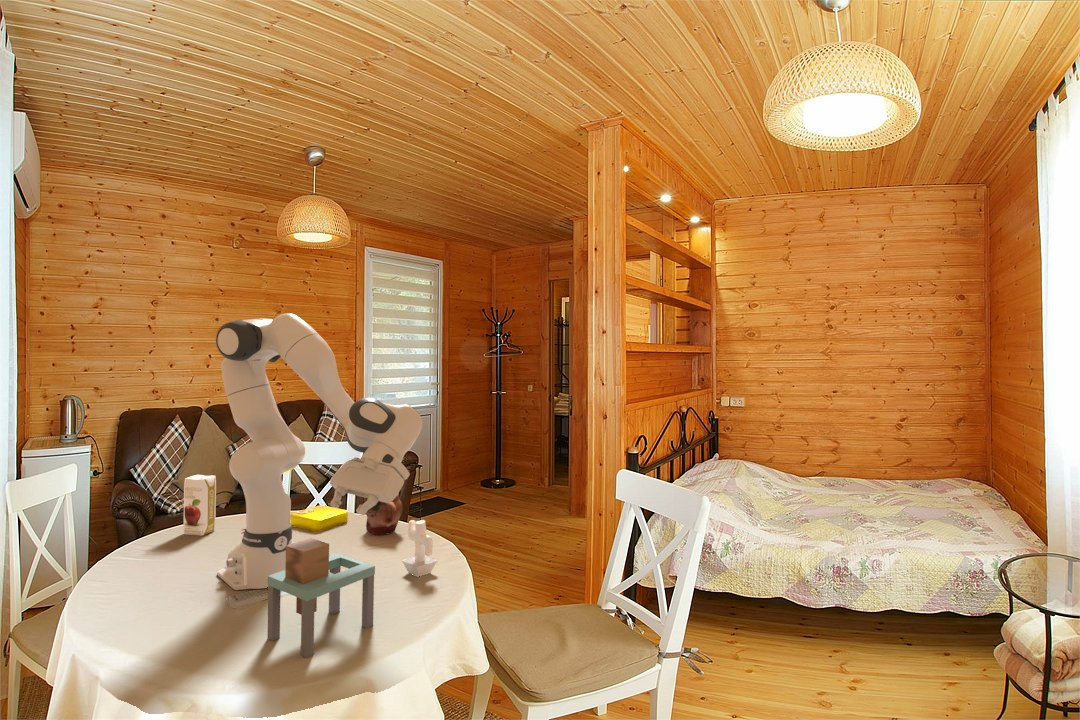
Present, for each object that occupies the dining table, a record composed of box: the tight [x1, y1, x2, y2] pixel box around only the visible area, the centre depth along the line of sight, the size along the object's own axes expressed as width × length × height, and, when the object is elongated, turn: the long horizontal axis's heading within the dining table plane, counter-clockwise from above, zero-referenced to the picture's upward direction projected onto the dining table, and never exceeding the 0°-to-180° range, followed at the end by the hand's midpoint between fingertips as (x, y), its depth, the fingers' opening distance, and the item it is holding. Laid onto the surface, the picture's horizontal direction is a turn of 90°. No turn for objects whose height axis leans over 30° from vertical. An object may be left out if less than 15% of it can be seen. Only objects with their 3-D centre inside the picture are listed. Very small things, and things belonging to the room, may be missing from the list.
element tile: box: [290, 504, 349, 533], centre depth 213 cm, size 15×15×5 cm
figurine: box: [401, 519, 438, 578], centre depth 169 cm, size 7×9×15 cm
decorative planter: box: [365, 493, 403, 537], centre depth 204 cm, size 20×12×14 cm, turn 42°
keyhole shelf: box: [266, 552, 376, 659], centre depth 134 cm, size 18×14×14 cm
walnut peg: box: [285, 537, 330, 615], centre depth 130 cm, size 6×6×15 cm
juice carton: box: [183, 474, 217, 537], centre depth 199 cm, size 8×9×19 cm
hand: (346, 509), depth 138 cm, fingers open, 8 cm apart
